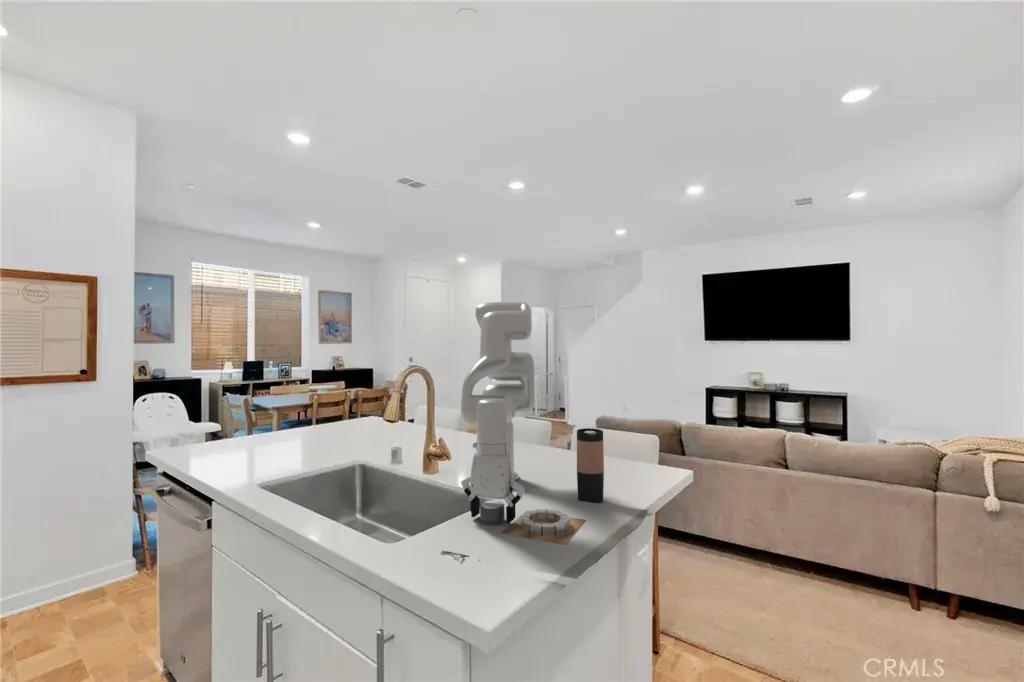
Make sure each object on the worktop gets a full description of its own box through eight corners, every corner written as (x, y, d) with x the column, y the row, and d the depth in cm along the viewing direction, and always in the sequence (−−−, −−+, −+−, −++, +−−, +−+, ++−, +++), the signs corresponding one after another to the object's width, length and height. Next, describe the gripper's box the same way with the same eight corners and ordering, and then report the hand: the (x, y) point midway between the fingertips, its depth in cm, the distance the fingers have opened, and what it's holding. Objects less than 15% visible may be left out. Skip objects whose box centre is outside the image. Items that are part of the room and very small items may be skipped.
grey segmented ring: (512, 530, 110) (512, 522, 110) (531, 514, 120) (531, 506, 120) (559, 539, 105) (559, 530, 105) (575, 521, 115) (575, 513, 115)
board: (499, 538, 109) (499, 532, 109) (527, 515, 123) (527, 510, 123) (566, 550, 102) (565, 544, 102) (586, 524, 116) (586, 519, 116)
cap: (476, 528, 115) (475, 506, 115) (487, 519, 120) (486, 498, 120) (498, 532, 112) (498, 509, 112) (508, 522, 118) (508, 501, 118)
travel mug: (587, 494, 140) (587, 427, 140) (609, 500, 134) (608, 430, 134) (571, 500, 134) (571, 430, 135) (593, 507, 129) (593, 434, 129)
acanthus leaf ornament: (459, 545, 106) (459, 537, 106) (483, 553, 102) (483, 544, 102) (436, 557, 100) (436, 548, 100) (460, 566, 96) (460, 556, 96)
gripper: (454, 449, 117) (454, 518, 116) (517, 455, 109) (518, 529, 109) (469, 443, 123) (469, 508, 123) (530, 448, 116) (530, 518, 116)
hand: (492, 518), depth 116 cm, fingers open, 9 cm apart
